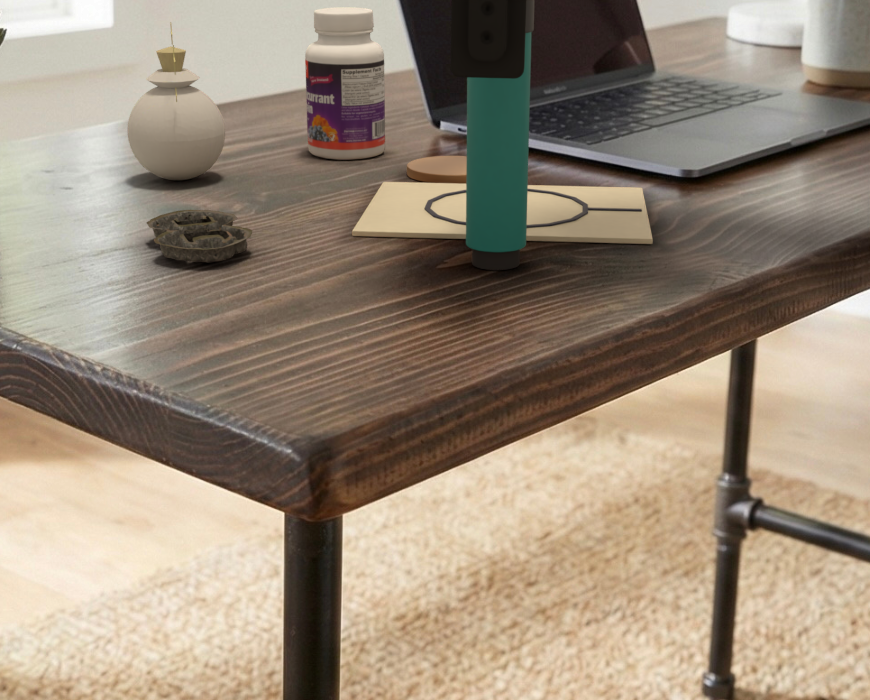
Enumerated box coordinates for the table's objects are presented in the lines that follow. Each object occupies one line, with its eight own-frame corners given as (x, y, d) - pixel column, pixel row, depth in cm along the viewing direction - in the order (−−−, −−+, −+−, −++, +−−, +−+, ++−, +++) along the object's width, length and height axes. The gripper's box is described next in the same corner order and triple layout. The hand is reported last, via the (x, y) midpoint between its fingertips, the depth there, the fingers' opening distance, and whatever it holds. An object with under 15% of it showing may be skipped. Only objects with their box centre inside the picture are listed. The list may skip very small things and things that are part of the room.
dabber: (528, 256, 66) (535, -8, 62) (526, 273, 63) (533, -2, 59) (466, 254, 67) (468, -8, 62) (461, 272, 64) (463, -2, 59)
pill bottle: (295, 149, 92) (290, 8, 88) (363, 142, 94) (361, 4, 91) (328, 164, 87) (324, 15, 84) (398, 155, 90) (397, 11, 87)
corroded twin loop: (230, 223, 72) (229, 205, 72) (264, 261, 65) (263, 241, 64) (138, 231, 70) (137, 213, 70) (163, 271, 63) (162, 250, 63)
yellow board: (641, 192, 80) (642, 185, 79) (652, 244, 68) (652, 237, 68) (383, 186, 81) (383, 179, 81) (352, 236, 70) (352, 228, 70)
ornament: (223, 167, 86) (215, 12, 83) (233, 192, 80) (224, 25, 76) (130, 171, 85) (118, 14, 82) (132, 197, 78) (118, 27, 75)
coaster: (501, 165, 87) (501, 156, 87) (496, 185, 81) (496, 175, 81) (412, 163, 88) (412, 154, 87) (401, 183, 82) (401, 173, 82)
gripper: (595, -382, 47) (573, 92, 53) (590, -315, 63) (574, 43, 69) (390, -381, 48) (390, 87, 54) (437, -315, 64) (434, 39, 70)
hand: (494, 62), depth 61 cm, fingers open, 9 cm apart
